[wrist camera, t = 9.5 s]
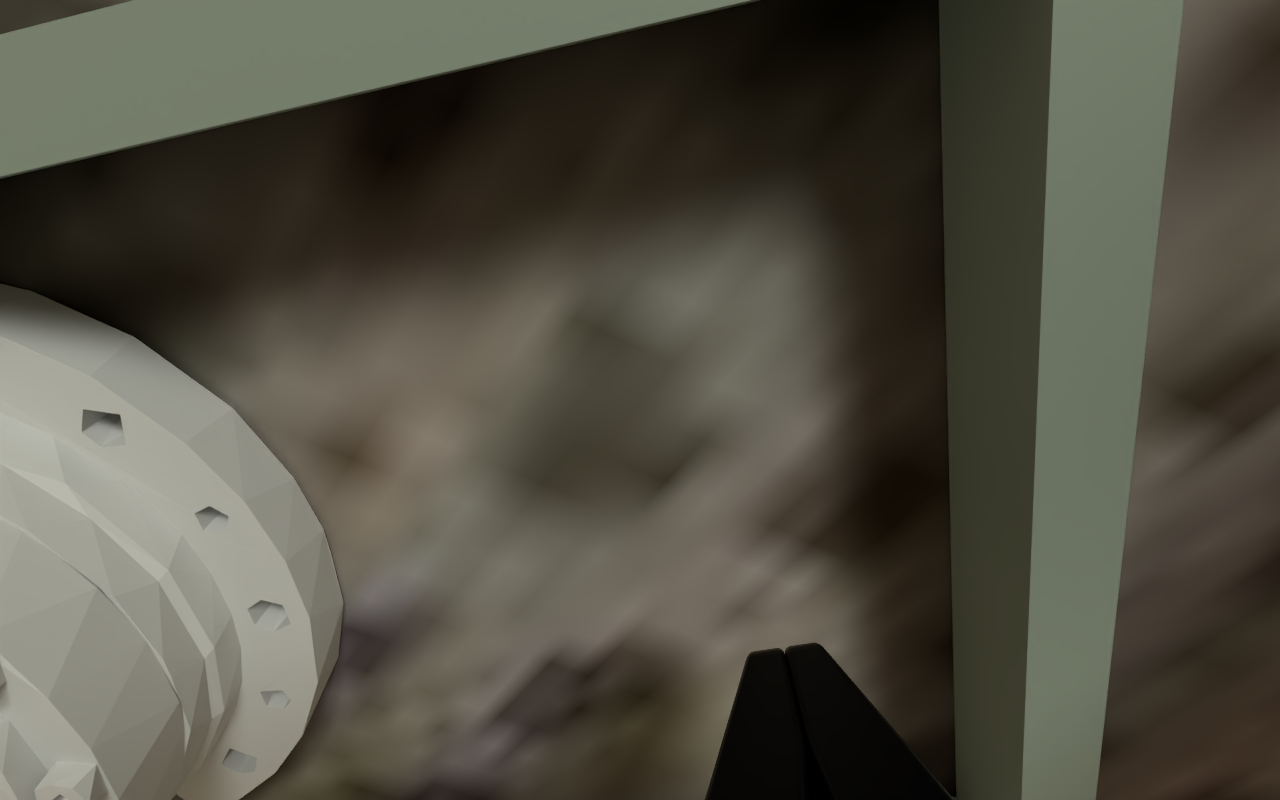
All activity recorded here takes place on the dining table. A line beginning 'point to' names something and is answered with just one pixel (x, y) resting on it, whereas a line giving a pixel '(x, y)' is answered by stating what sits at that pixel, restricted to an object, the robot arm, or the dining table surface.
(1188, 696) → the dining table surface
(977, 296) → the green u-shaped frame
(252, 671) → the mechanical component
